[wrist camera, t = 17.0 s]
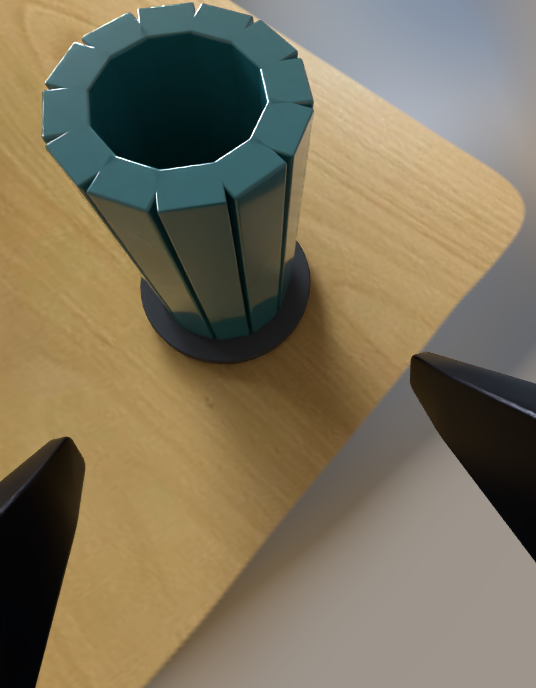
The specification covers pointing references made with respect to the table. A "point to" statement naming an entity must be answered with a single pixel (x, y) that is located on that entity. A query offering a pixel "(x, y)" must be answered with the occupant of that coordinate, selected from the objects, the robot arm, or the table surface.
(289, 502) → the table surface
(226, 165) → the slatted teal pen holder
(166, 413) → the table surface
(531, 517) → the robot arm
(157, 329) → the pad
